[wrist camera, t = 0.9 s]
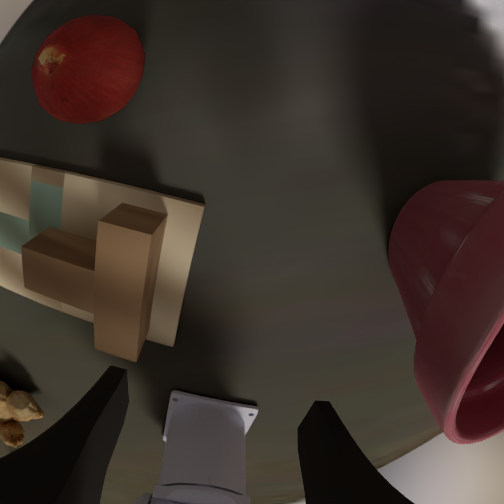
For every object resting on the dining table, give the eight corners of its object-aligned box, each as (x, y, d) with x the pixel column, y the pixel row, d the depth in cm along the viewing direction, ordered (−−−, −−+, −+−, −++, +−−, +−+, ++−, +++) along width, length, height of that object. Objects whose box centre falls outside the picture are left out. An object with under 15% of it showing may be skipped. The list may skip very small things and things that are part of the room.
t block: (148, 330, 21) (136, 362, 18) (51, 297, 20) (29, 322, 17) (168, 214, 18) (151, 235, 15) (51, 185, 17) (20, 199, 13)
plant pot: (520, 192, 18) (630, 253, 6) (451, 330, 23) (522, 431, 11) (400, 106, 16) (573, 118, 4) (320, 298, 21) (377, 461, 9)
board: (174, 342, 22) (173, 347, 22) (-13, 274, 20) (-17, 277, 19) (205, 204, 18) (204, 206, 18) (-18, 154, 16) (-22, 155, 15)
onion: (65, 111, 15) (-21, 117, 8) (95, 28, 13) (21, -6, 6) (141, 132, 16) (72, 142, 9) (176, 43, 14) (129, -6, 7)
